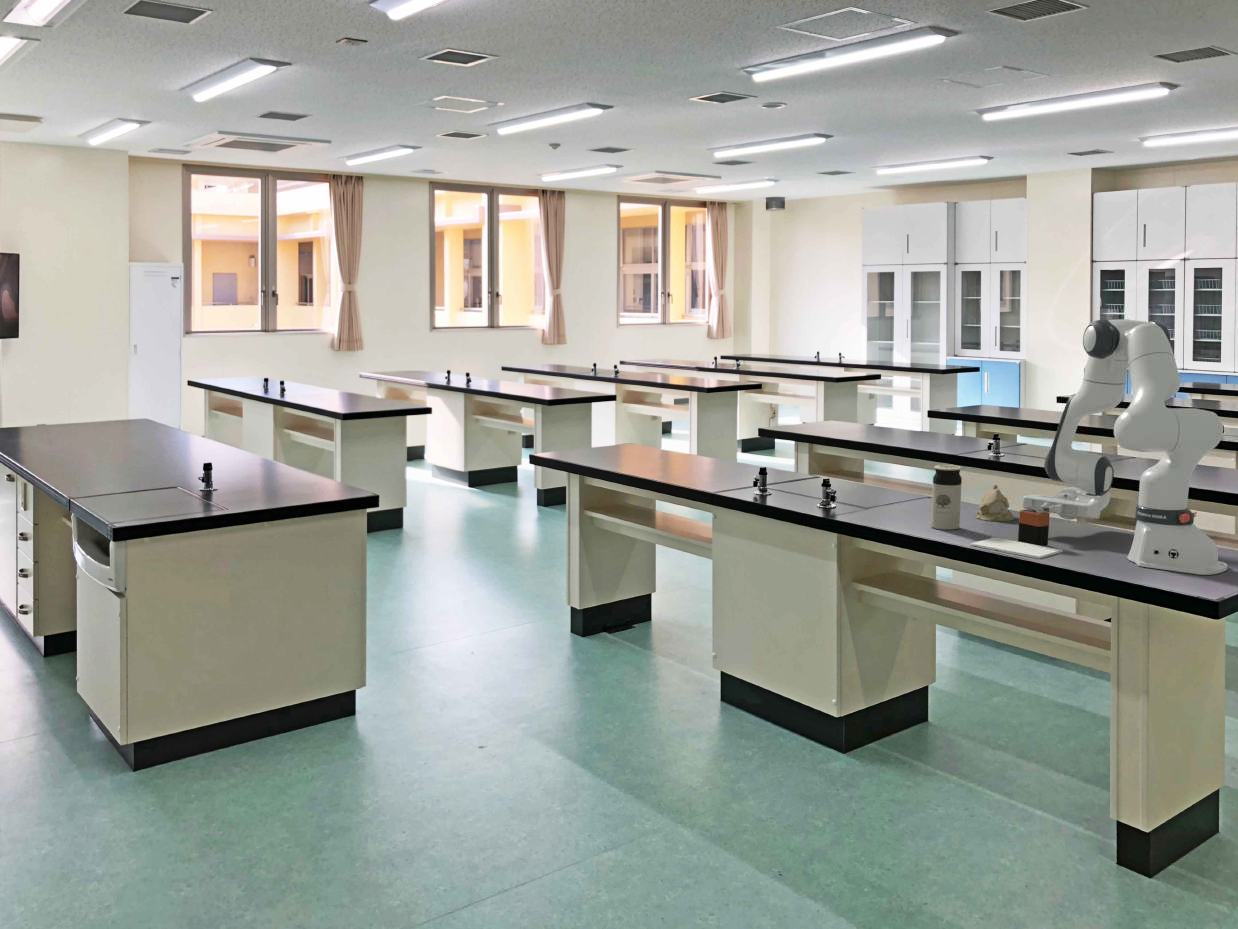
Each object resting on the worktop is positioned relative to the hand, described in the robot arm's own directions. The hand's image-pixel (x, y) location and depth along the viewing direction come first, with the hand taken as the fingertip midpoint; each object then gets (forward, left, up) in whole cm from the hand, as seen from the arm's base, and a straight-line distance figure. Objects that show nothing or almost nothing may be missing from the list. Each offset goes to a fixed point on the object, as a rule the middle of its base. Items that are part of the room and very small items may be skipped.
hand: (1045, 509), depth 301 cm
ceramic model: (+28, -21, -9) cm, 36 cm away
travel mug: (+28, +5, -9) cm, 30 cm away
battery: (0, +6, -9) cm, 11 cm away
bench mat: (0, +14, -9) cm, 17 cm away
